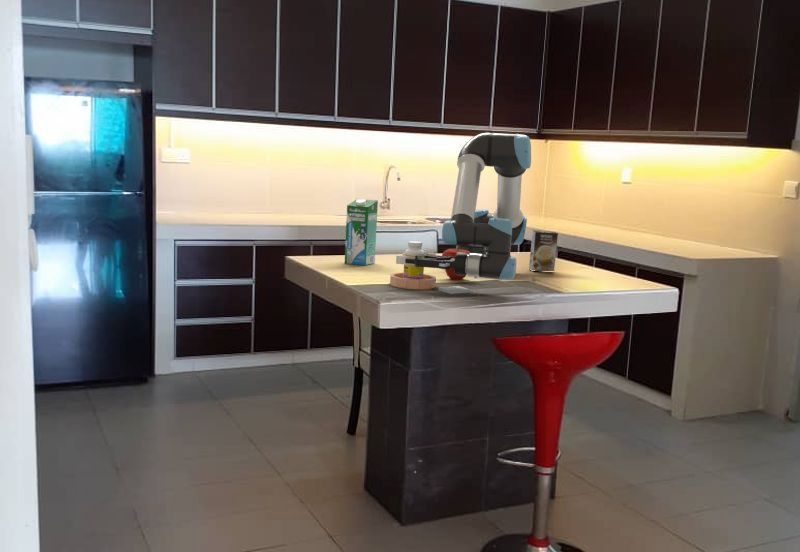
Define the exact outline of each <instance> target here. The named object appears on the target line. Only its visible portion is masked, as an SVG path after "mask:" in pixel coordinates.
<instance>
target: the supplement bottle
mask: <svg viewBox="0 0 800 552" xmlns="http://www.w3.org/2000/svg"><path fill="white" fill-rule="evenodd" d="M407 246H408V247H407V249H406V250H404V253H405V256H411V257H415V256H417V258H424V257H425V250H423V249H422V247H423V242H422V241H415V240H414V241H413V240H412V241H411V240H409V241H408V242H407ZM419 263H420V261H419ZM424 271H425V267H416V266H415V265H405V264H403V272H402V273H403V278H405V279H417V280H421V279H423V274H425V273H424Z"/></svg>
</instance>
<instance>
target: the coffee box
mask: <svg viewBox="0 0 800 552" xmlns="http://www.w3.org/2000/svg"><path fill="white" fill-rule="evenodd" d="M558 235H559V233H558V232H556V231H546V230H532V236H531V243H530V244H531V246H530V255H529V264H528V270H529V269H531V270H535V271H554V272H555V267H556V266H555V265H556V255H557V247H558Z"/></svg>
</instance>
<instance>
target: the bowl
mask: <svg viewBox="0 0 800 552" xmlns="http://www.w3.org/2000/svg"><path fill="white" fill-rule="evenodd" d="M403 273H404V272H395V273H391V274H390V281H389V285H390V286H392V287H395V288H399V289H407V290H431V289H435V288H436V286H437V277H436V276H435V275H431V274H428V273H423V279H421V280H417V279H405V278H403Z"/></svg>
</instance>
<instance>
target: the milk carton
mask: <svg viewBox="0 0 800 552" xmlns="http://www.w3.org/2000/svg"><path fill="white" fill-rule="evenodd" d="M378 205H379V201H378V200H376V199H375V200H374V199H365V198H364V199H363V198H355V200H353V201H352V202H350V203H348V204H347V205H346V221H345V222H346V225H345V245H344V246H345V247H344V264H347V265H349V264H350V265H357V266H369V265H372V264H376V243H377V225H378Z"/></svg>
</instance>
